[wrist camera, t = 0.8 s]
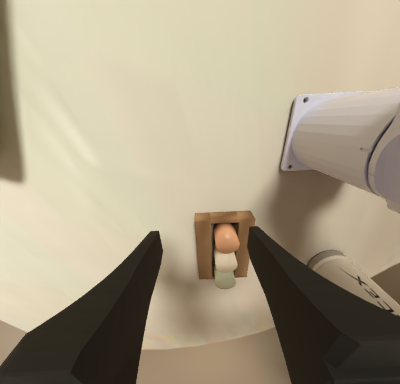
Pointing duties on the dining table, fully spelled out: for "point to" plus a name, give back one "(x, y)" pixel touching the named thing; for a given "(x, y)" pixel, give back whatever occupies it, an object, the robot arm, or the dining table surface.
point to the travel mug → (352, 279)
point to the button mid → (225, 261)
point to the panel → (204, 240)
